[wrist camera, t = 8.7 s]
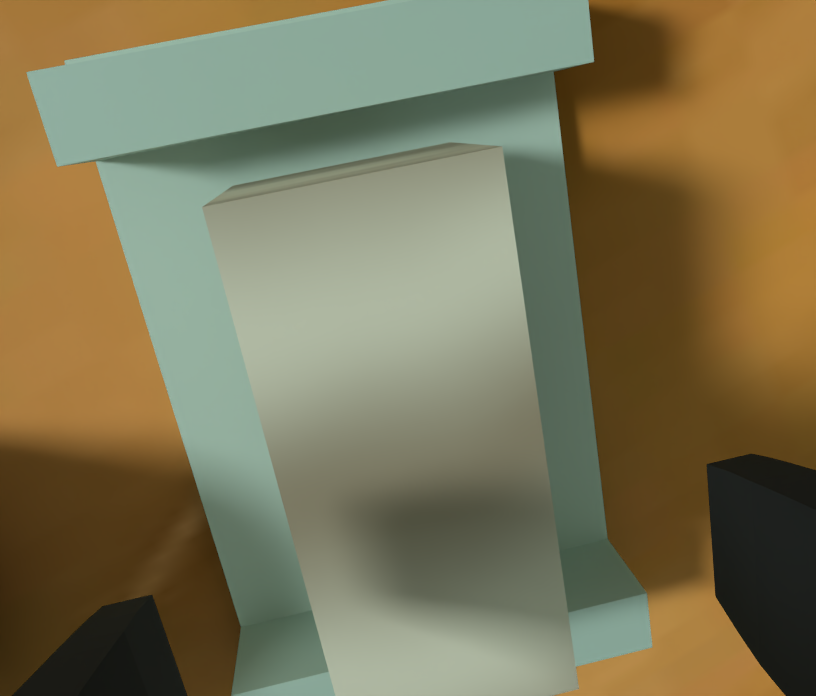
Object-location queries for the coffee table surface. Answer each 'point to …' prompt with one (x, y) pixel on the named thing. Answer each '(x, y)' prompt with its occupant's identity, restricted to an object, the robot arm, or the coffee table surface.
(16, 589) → the coffee table surface
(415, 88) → the peg frame
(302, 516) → the shelf block
